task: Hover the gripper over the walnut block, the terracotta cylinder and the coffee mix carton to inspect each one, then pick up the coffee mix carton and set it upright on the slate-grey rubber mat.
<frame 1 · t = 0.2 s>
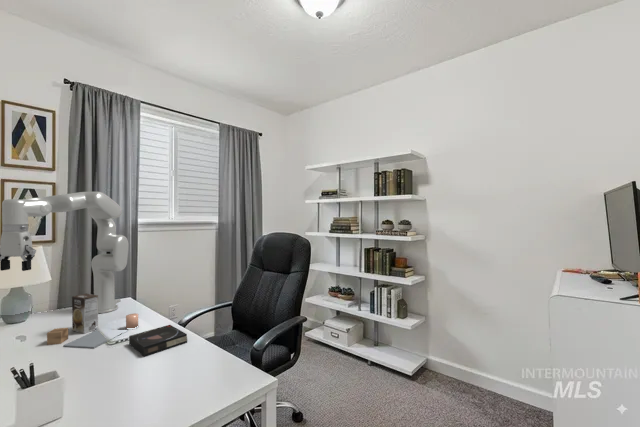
hand: (15, 270, 125), 31 cm above the table, tool pointing down, fingers open, 9 cm apart
walnut block: (57, 342, 128), on the table
terracotta cylinder: (132, 327, 143), on the table
coffee box: (85, 330, 141), on the table
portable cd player: (158, 345, 126), on the table
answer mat: (97, 338, 131), on the table
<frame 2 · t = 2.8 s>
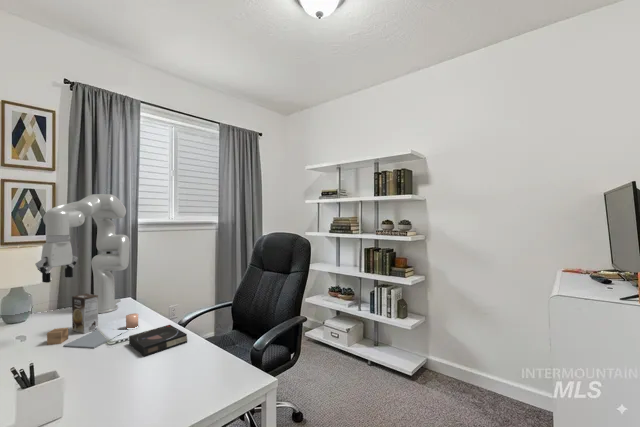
hand: (58, 279, 128), 26 cm above the table, tool pointing down, fingers open, 9 cm apart
nothing on the table moved.
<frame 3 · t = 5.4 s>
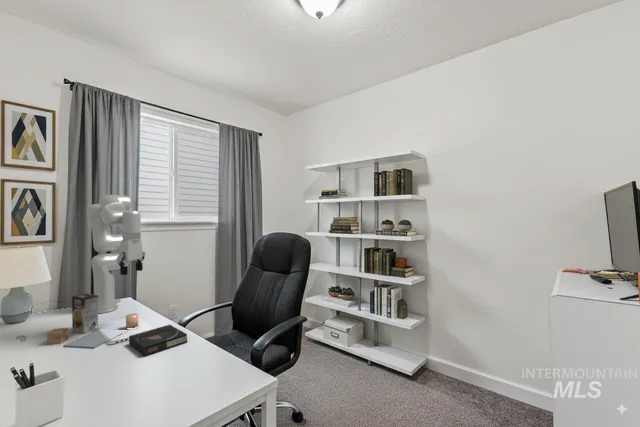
hand: (131, 272, 143), 26 cm above the table, tool pointing down, fingers open, 9 cm apart
nothing on the table moved.
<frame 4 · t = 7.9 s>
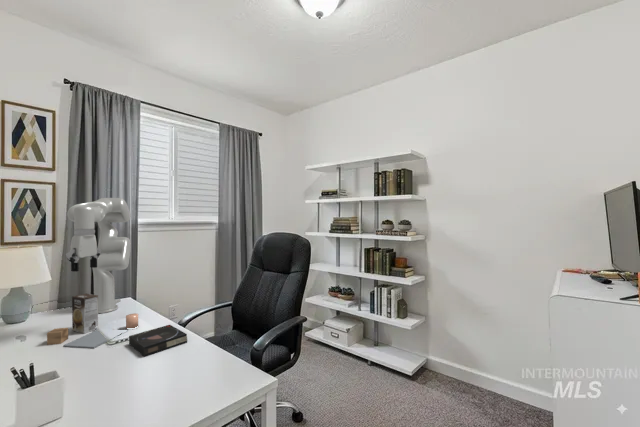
hand: (84, 269, 140), 28 cm above the table, tool pointing down, fingers open, 9 cm apart
nothing on the table moved.
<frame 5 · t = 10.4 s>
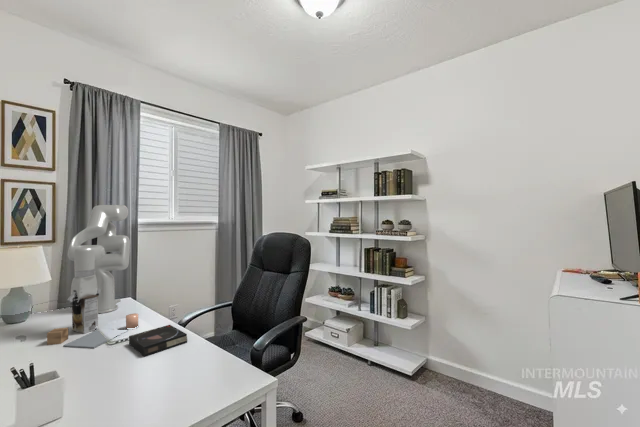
hand: (85, 311, 141), 9 cm above the table, tool pointing down, fingers closed on coffee box, 7 cm apart
coffee box: (85, 330, 141), on the table, touching gripper
everything else where it was.
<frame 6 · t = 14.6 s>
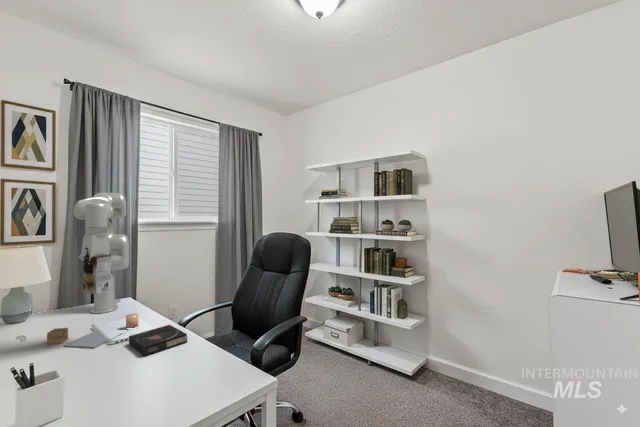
hand: (97, 271, 131), 29 cm above the table, tool pointing down, fingers closed on coffee box, 7 cm apart
coffee box: (97, 292, 131), point 20 cm above the table, touching gripper
everything else where it was.
when the fingers open (11 cm above the table, at t = 18.9 s): coffee box drops 1 cm, resting on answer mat.
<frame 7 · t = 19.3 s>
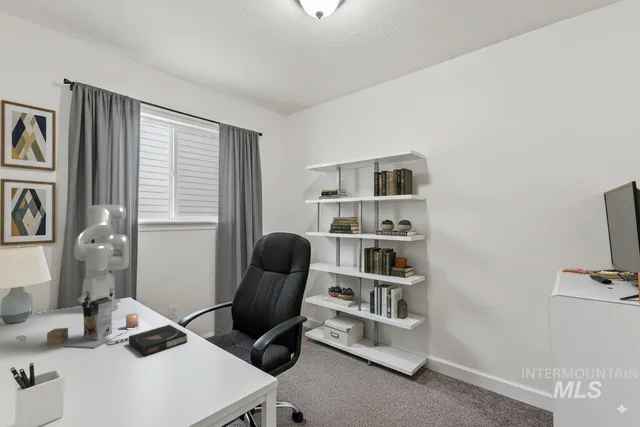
hand: (97, 312, 131), 11 cm above the table, tool pointing down, fingers open, 9 cm apart
coffee box: (98, 337, 132), resting on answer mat
everything else where it was.
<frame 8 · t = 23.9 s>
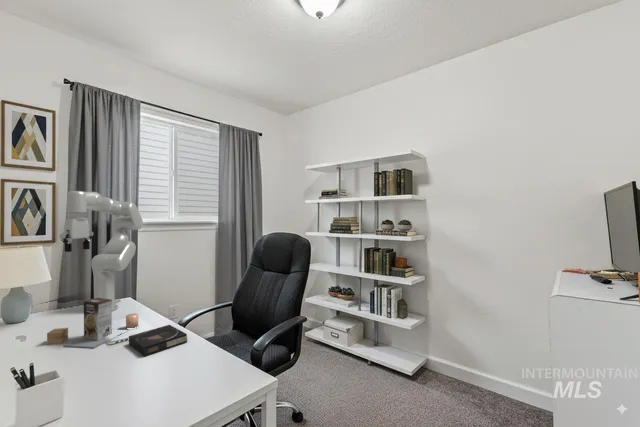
hand: (77, 250, 149), 36 cm above the table, tool pointing down, fingers open, 9 cm apart
nothing on the table moved.
at the end: coffee box inside the target area on the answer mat (0.4 cm from its centre), point 0.4 cm above the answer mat's base; coffee box tilted 0°; the gripper is holding nothing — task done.
